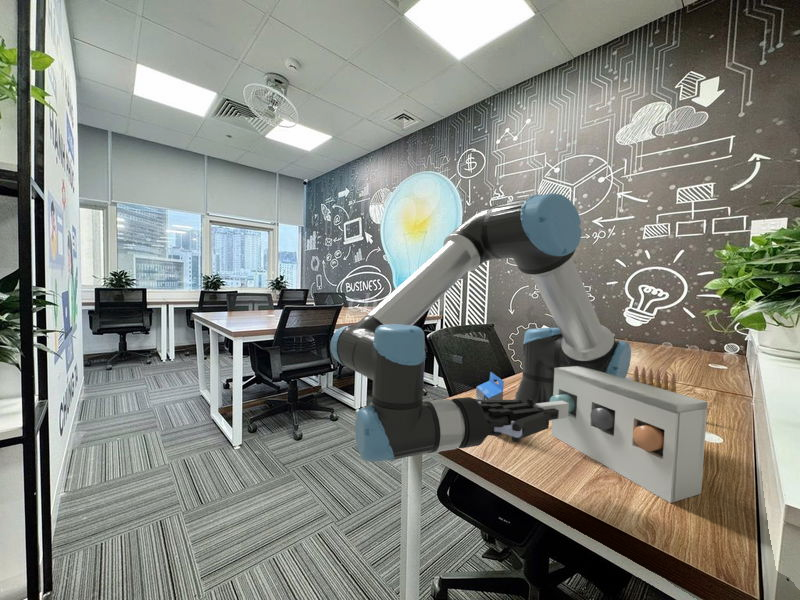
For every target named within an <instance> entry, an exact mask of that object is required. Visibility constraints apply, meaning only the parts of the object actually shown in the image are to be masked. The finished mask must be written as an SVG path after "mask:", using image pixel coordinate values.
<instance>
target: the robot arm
mask: <svg viewBox="0 0 800 600" xmlns="http://www.w3.org/2000/svg"><path fill="white" fill-rule="evenodd" d="M581 223H582V221H581V217H580V215H579V212H578V210H577V208H576V205H574V203H573V202H572V201H571V200H570V199H569V198H568V197H566V196H565V195H563V194H560V193H556V192H552V193H545V194H534V195H531V196H529V197H526V198H521V199H518V200H513V201H508V202H504V203H500V204H494V205H491V206H488V207H486V208H483V209H481V210H480V211H478V212H476V213H475V214H473V215H472V216H470V217H469V218H468V219H467V220H465V221H464V222H462V223H461V224H460V225H459V226H458V227H456V228H455V229H454V230H453V231H452V232H451V233H449V234H448V235H447V236H446V237H445V238H444V240H443V243H442V244H443V246H442V247H441V248H440V249H438V250H437V252H435V253H434V254H433V255H432V256H431V257H430V258H429V259H427V260H426V261H425V262H424V263H423V264H421V266H420V267H419V268H417V269H416V270H415V271H414V272H413V273H412V274H411V275H409V276H408V277H407V278H406V279H405V280H404V281H403V282H402V283H401V284H399V285H398V286H397V287H395V289H394V290H393V291H392V292H391V293H390V294H388V295H387V296H386V297H385V298H384V299H383V300H382V301H380V303H378V304H377V305H376V306H375V307H374V308H372V309H371V310H370V311H369V312H368V313H367V314H366V315H365V316H364V317H363V318H361V319H360V320H359V321H358V322H357V323H356V324H354V325H353V324H350V325H345V326H342V327H340V328H338V329H337V330H336V331H335V332H334V334H333V336H332V337H331V340H330V347H329V348H330V353H331V355H332V358H334V360H335V361H337V362H338V363H339V364H341V366H344V367H345V369H349V370H352V371H354V372H357V373H359V374H360V375H363V376H364V377H366V378H368V379H370V380H372V392H371V393H372V399H371V405H367V406H365V407H364V406H363V407H361V408H359V409H358V411H357V412H356V417H355V418H356V419H355V425H354V427H355V428H354V430H355V443H356V448H357V452H358V454H359V456H360V458H361V459H362V460H364V461H365V462H368V463H373V462H375V463H376V462H384V461H391V462H392V461H395V460H399V459H403V458H409V457H414V456H419V455H425V454H433V453H434V454H438V453H441V452H445V451H451V450H457V449H467V448H473V447H478V446H480V445H482V444H483V442H484V441H485V440H486V439H487V437H488V436H494V437H495V436H496V437H500V436H502V435H503V434H505V435H508V436H509V437H511V441H512V442H513V443H517V444H518V443H521V441H522V440H523V439H524V438H527V437H528V436H532V435H535V434H538V433H540V432H542V431H545V430H548V429H549V427H550V421H552V420H556V419H563V418H568V409H569V403H567V402H565V401H554V402H550V398H551V397H552V396H553V389H554V368H559V367H572V366H583V367H586V368H590V369H593V370H597V371H600V372H604V373H607V374H611V375H614V376H618V377H622V378H627V376H628V373H629V369H630V366H631V365H630V364H631V360H632V349H631V345H630V343H628V342H627V341H623V340H617V339H615V336H614V334H613V332H612V331H611V330H610V329H609V328H608V327H606V326H605V325H602V324H601V323H600V320H599V318H598V316H597V313H596V311H595V309H594V306H593V303H592V301H591V298H590V297H589V294H588V292H587V290H586V288H585V285H584V283H583V281H582V278H581V276H580V274H579V271H578V269H577V267H576V264H575V262H574V260H573V257H574V256H575V254H576V252H577V248H578V247H579V245H580V242H581V238H582V228H581V227H580V226H581ZM497 259H498V260H499V259H500V260H501V259H502V260H503V259H504V260H506V259H512V260H513V261H514V263H515V264H516V266H517V268H518V269H519V271H520V273H522V274H524V275H526V276H531V278H532V280H533V282H534V285H535V286H536V287H537V289H538V291H539V294H540V295H541V297H542V300H543V301H544V303H545V306H546V307H547V308H548V311H549V313H550V315H551V317H552V319H553V320H554V322H555V325H556V327H538V328H537V327H536V328H529V329H527V330H526V331H525V332H524V337H523V342H522V344H523V349H522V355H523V357H522V376H521V380H520V383H519V386H518V389H517V391H516V392H515V398H514V399H503V400H480V399H476V398H473V397H471V396H470V397H469V396H467V397H466V396H465V397H458V398H456V397H455V398H451V399H450V398H443V399H436V400H435V399H434V400H426V401H423V400H424V399H423V397H424V396H423V395H424V381H425V380H424V379H425V362H426V361H425V360H426V358H427V353H426V350H425V348H426V347H425V345H426V344H425V343H426V341H425V339H426V338H425V332H424V330H423V329H422V328H421V327H419V326H417V325H414V324H416V323H417V322H418V321H419V319H421V317H423V316H424V315H425V314H426V312H427V311H429V310H430V309H431V308H432V307H433V306H434V305H435V304H436V303H437V302H438V300H440V299H441V297H443V296H444V295H445V294H446V293H447V292H448V291H449V290H450V289H451V288H452V287H454V285H455V284H456V283H457V282H458V281H459V280H460V279H461V278H462V277H463V276H464V275H465V274H466V273H467V272H473V271H475V270H477V269H478V268H479V267H480V266H481V265H482V264H484V263H486V262H489V261H492V260H497Z"/></svg>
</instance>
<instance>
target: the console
mask: <svg viewBox="0 0 800 600" xmlns="http://www.w3.org/2000/svg"><path fill="white" fill-rule="evenodd" d="M561 394H567V395H569V396H571V398H572V399H573V401H574V404H575V408H574V411H573V412H571V413H568V418H563V419H556V420H551V429H550V431H551V432H550V435H551V436H552V437H554V438H556V439H558V440H559V441H560V442H563V443H565V444H566V445H568V446H570V447H571V448H573V449H575V450H576V451H578V452H581V453H582V454H583V455H585V456H587V457H589V458H591V459H593V460H594V461H596V462H598V463H600V464H601V465H603V466H605V467H606V468H608V469H610V470H611V471H613V472H615V473H617V474H619V475H620V476H621V477H624V478H625V479H628V480H629V481H631V482H632V483H635V484H636V485H638V486H639V487H642V488H643V489H645V490H647V491H649V492H650V493H652V494H654V495H656V496H657V497H658V498H660V499H663V500H664V501H666V502H668V503H670V504H671V503H675V502H678V501H682V500H685V499H689V498H691V497H695V496H698V495H702V487H703V486H702V485H703V473H704V456H705V447H706V446H705V445H706V443H705V442H706V428H707V415H708V401H706V400H703V399H700V398H696V397H692V396H688V395H685V394H682V393H678V392H676V393H675V392H671V391H669V389H668V390H664V389H661V388H657V387H654V385H653V386H650V385H646V384H643V383H639V382H636V381H632V380H629V379H625V378H622V377H618V376H614V375H611V374H607V373H604V372H600V371H597V370H593V369H590V368H586V367H583V366H572V367H559V368H554V389H553V395H561ZM602 407H607V408H609V409H612V410H614V411H615V424H614V428H611V429H605V430H601V429H598V428H597V427H595V426H594V424H593V423H592V421H591V417H590V414H591V411H592V410H593V409H595V408H602ZM649 424H651V425H653V426H656V427H658V428H661V429H663V430H665V432H664V447H663V449H658V450H654V451H645V450H643V449H642V448H640V447H639V446H638V445H637V444H636V442H635V441H634V438H633V431H634V429H635V428H636V427H638V426H644V425H649Z"/></svg>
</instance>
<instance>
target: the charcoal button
mask: <svg viewBox="0 0 800 600" xmlns="http://www.w3.org/2000/svg"><path fill="white" fill-rule="evenodd" d="M590 417H591V421H592V423H593V424H594V426H595V427H597V428H598V429H601V430H605V429H611V428H614V424H615V411H614V410H612V409H609V408H607V407H602V408H595V409H593V410H592V411H591V414H590Z"/></svg>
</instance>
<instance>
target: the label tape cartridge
mask: <svg viewBox="0 0 800 600" xmlns="http://www.w3.org/2000/svg"><path fill="white" fill-rule="evenodd" d="M504 383H505V380H503V379H501V377H499V376H497V374H495V373H493V372H492V371H490V373H489V380H488V381H486V382H483V383H481V384H479V385H477V386H476V389H475V390H476V391H475V392H476V393H475V399H480V400H504V398H503V397H504Z"/></svg>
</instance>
